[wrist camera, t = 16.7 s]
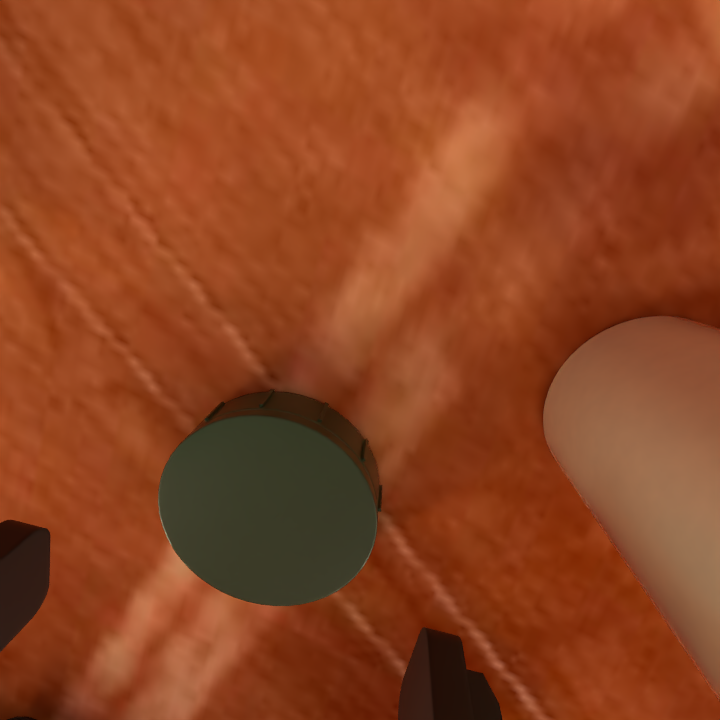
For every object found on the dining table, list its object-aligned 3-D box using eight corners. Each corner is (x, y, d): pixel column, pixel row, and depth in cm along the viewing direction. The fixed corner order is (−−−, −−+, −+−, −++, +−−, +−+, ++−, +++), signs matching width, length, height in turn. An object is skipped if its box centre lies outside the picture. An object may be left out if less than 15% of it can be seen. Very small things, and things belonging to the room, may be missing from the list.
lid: (176, 536, 14) (148, 576, 12) (199, 367, 12) (168, 388, 11) (354, 582, 14) (348, 628, 12) (402, 420, 12) (403, 449, 11)
